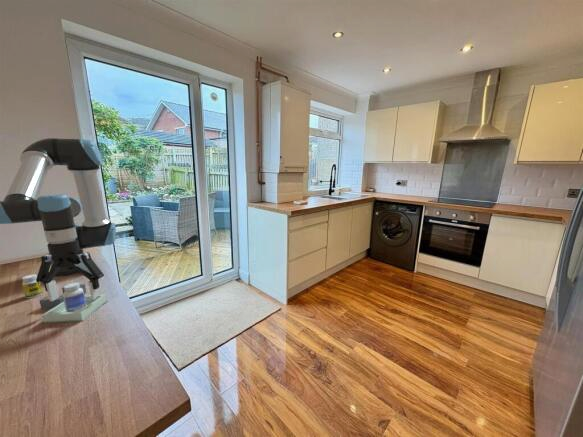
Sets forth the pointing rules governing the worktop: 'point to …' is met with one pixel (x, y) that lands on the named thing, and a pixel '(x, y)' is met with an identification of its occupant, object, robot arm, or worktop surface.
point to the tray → (61, 315)
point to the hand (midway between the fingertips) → (75, 298)
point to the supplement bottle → (31, 286)
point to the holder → (49, 304)
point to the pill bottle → (74, 298)
